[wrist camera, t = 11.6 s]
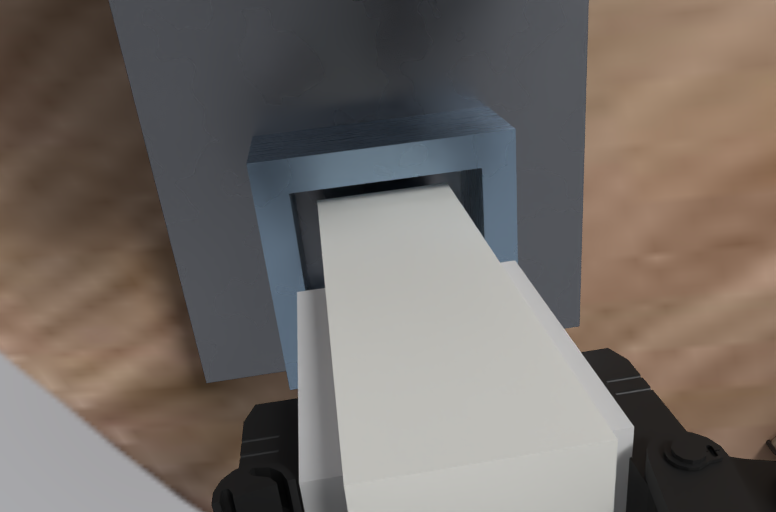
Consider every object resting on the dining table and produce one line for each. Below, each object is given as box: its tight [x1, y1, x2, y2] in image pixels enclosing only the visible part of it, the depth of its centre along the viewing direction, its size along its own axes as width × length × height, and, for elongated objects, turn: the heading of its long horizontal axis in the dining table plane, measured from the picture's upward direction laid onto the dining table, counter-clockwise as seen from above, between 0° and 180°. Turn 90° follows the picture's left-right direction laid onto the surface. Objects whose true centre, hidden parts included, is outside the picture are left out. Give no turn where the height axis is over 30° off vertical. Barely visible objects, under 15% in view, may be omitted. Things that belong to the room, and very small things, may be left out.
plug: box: [317, 183, 618, 512], centre depth 16 cm, size 5×4×12 cm
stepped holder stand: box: [109, 0, 589, 390], centre depth 15 cm, size 24×14×15 cm, turn 5°
